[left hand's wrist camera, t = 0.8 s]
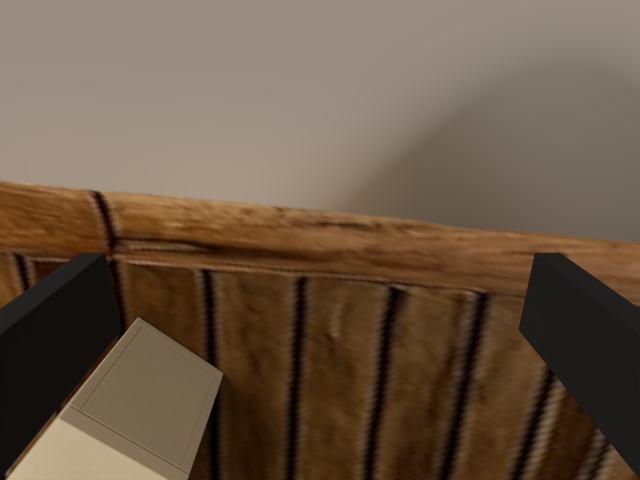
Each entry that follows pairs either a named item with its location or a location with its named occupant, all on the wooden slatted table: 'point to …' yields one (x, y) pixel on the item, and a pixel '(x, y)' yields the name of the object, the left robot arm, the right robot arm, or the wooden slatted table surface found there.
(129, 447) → the lid
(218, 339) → the wooden slatted table surface
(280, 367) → the wooden slatted table surface
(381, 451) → the wooden slatted table surface
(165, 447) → the chest
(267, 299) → the wooden slatted table surface
